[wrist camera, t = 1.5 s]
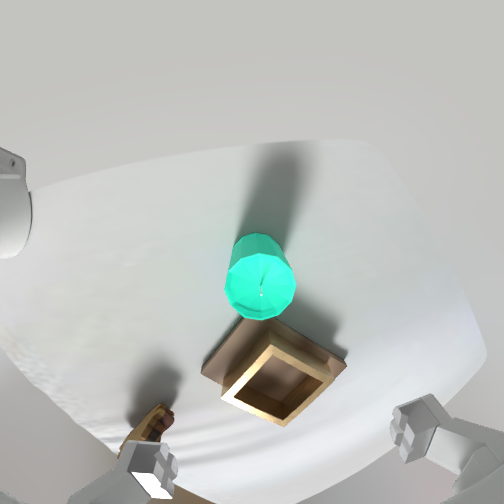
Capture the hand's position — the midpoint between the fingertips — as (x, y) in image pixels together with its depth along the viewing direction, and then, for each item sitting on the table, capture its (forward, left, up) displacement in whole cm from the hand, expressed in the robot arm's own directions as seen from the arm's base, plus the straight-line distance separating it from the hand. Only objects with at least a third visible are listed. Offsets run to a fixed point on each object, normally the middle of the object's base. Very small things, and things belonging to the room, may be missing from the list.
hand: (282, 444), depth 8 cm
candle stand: (+11, -11, -27) cm, 31 cm away
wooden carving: (+2, -32, -27) cm, 42 cm away
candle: (0, 0, -27) cm, 27 cm away
